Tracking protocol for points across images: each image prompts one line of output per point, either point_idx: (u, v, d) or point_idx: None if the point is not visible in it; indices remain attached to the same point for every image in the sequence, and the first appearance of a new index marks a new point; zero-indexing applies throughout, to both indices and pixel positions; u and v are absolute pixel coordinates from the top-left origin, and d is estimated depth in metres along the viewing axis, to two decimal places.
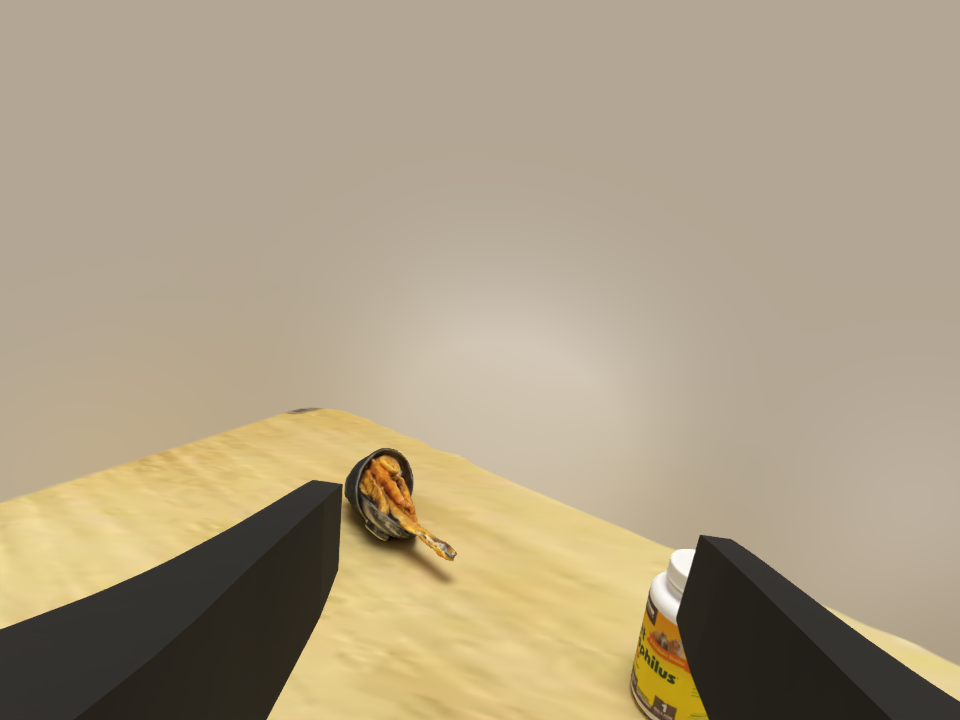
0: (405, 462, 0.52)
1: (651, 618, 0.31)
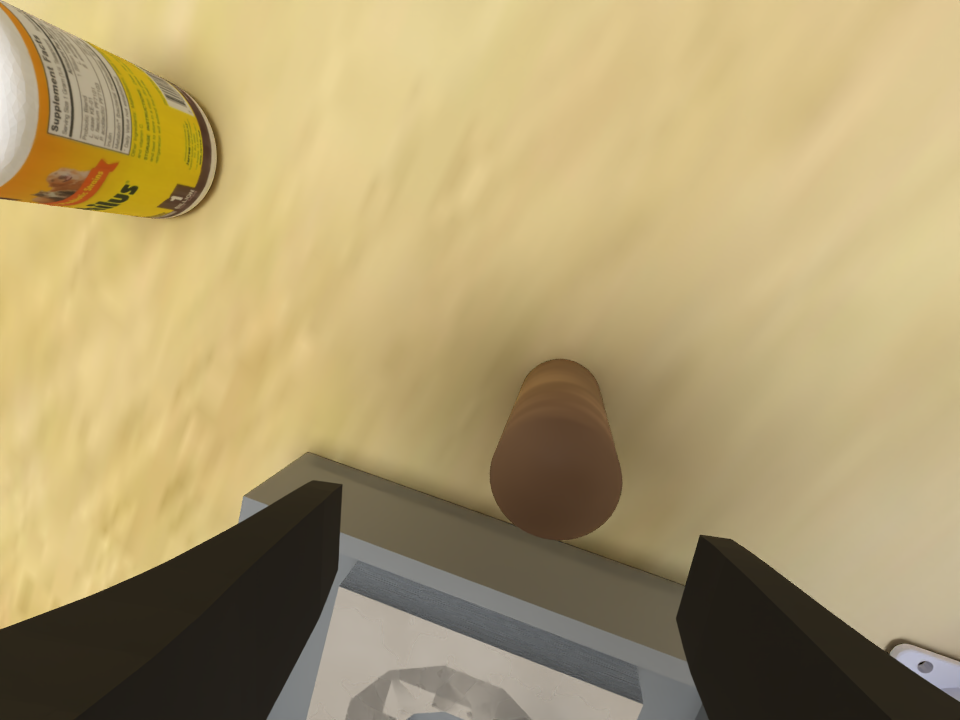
0: None
1: None
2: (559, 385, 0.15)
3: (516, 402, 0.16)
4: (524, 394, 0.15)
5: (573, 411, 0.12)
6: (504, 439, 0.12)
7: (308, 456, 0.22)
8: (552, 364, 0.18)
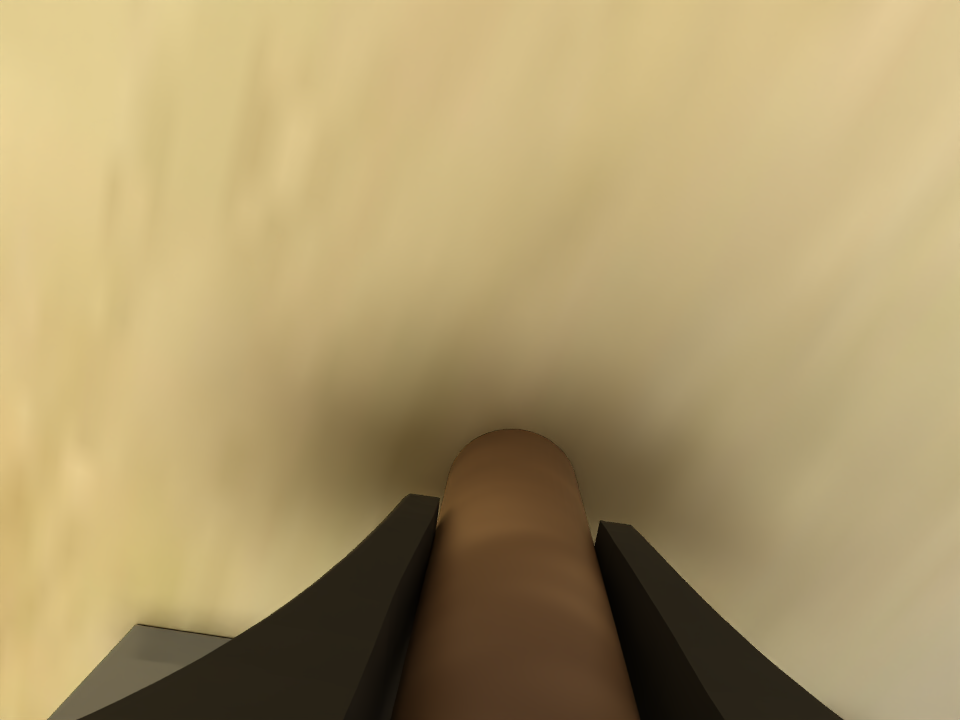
0: None
1: None
2: (500, 558, 0.07)
3: (424, 585, 0.08)
4: (436, 572, 0.08)
5: None
6: None
7: (135, 636, 0.14)
8: (488, 451, 0.11)
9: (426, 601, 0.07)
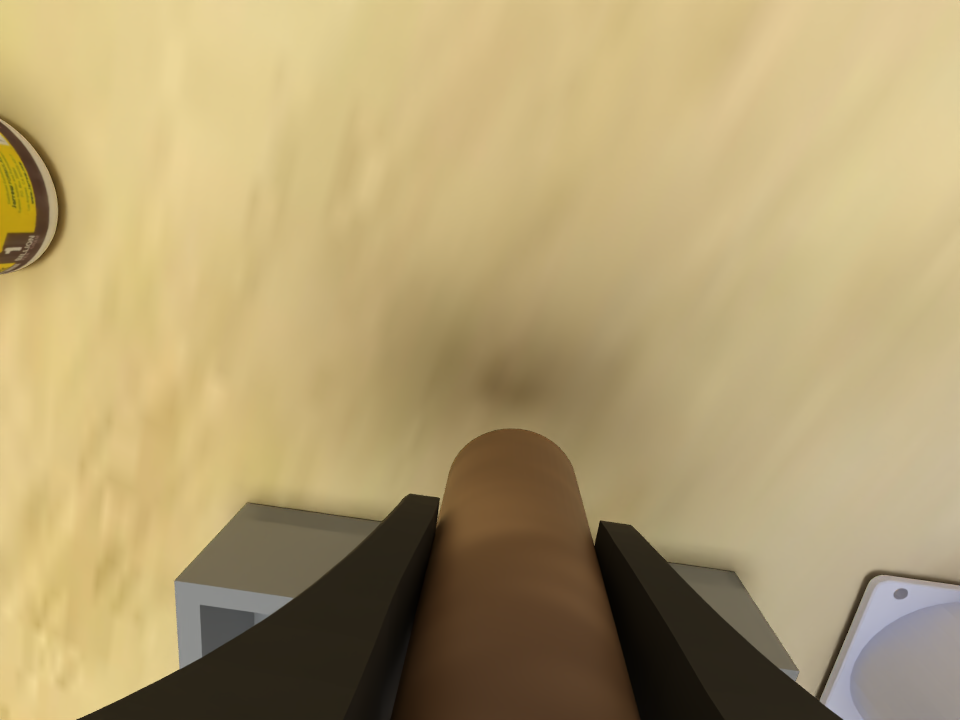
0: None
1: None
2: (500, 557, 0.07)
3: (424, 584, 0.08)
4: (436, 571, 0.08)
5: None
6: None
7: (248, 508, 0.20)
8: (488, 451, 0.11)
9: (426, 600, 0.07)
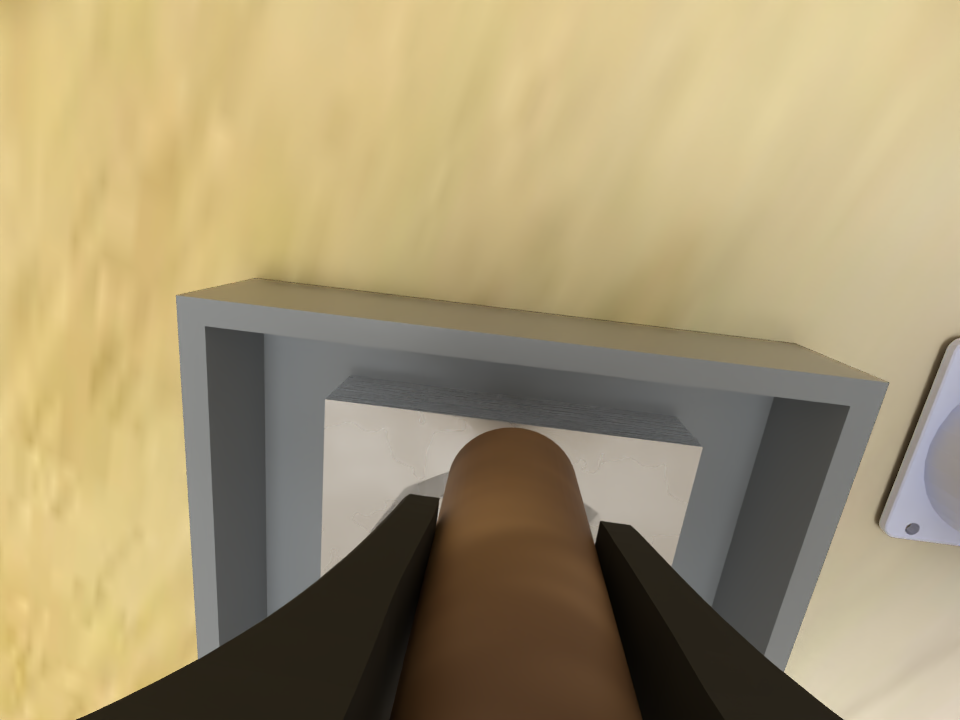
0: None
1: None
2: (500, 553, 0.07)
3: (424, 581, 0.08)
4: (436, 568, 0.08)
5: None
6: None
7: (257, 280, 0.18)
8: (488, 449, 0.11)
9: (426, 597, 0.07)
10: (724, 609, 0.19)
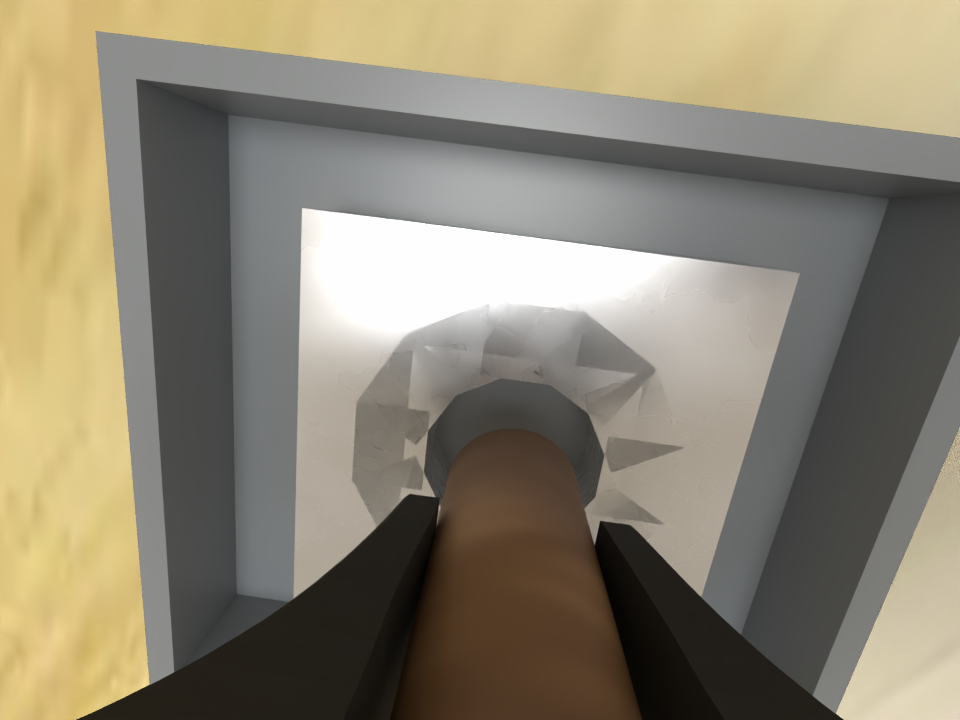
0: None
1: None
2: (500, 555, 0.07)
3: (424, 582, 0.08)
4: (436, 569, 0.08)
5: None
6: None
7: None
8: (488, 450, 0.11)
9: (426, 598, 0.07)
10: (801, 516, 0.15)
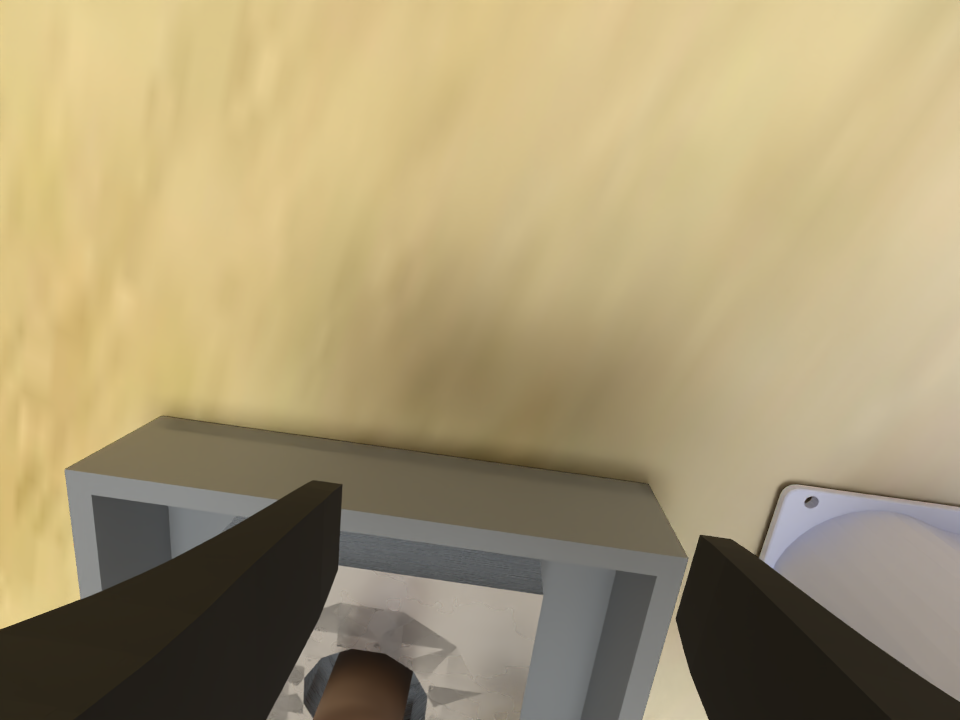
0: None
1: None
2: None
3: None
4: None
5: None
6: None
7: (161, 420, 0.20)
8: None
9: None
10: (588, 718, 0.21)
